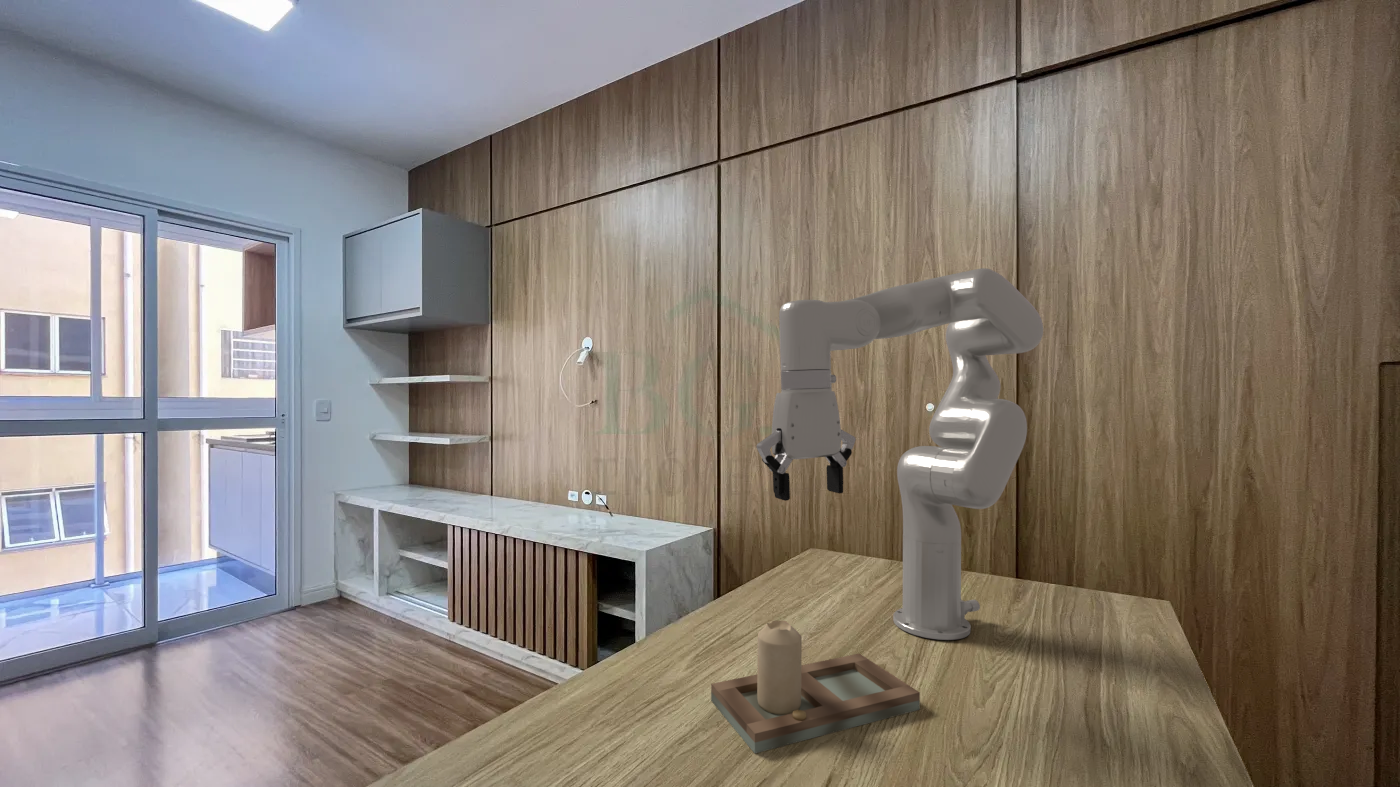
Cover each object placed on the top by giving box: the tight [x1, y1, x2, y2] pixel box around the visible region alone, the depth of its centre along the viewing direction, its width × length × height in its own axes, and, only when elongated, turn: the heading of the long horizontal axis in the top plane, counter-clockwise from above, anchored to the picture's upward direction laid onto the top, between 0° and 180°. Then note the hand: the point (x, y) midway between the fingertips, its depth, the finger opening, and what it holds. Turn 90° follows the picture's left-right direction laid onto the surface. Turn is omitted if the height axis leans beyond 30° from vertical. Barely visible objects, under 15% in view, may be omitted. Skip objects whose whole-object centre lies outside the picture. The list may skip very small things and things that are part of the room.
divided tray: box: [710, 653, 921, 754], centre depth 74 cm, size 24×12×3 cm, turn 113°
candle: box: [756, 619, 803, 715], centre depth 72 cm, size 6×6×10 cm
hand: (809, 495), depth 86 cm, fingers open, 9 cm apart
